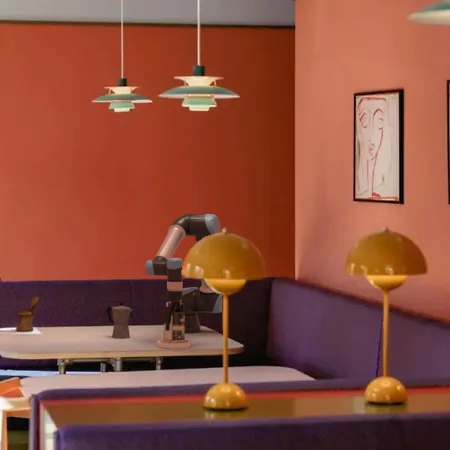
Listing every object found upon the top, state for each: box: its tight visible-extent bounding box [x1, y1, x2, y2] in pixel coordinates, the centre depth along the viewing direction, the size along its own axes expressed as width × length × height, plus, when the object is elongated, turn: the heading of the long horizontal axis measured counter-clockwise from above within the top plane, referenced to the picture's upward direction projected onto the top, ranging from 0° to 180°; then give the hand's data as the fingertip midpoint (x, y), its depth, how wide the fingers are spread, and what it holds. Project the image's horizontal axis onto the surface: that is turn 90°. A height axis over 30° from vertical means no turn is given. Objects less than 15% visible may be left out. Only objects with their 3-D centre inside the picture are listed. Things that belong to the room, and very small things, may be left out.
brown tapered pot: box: [15, 295, 40, 333], centre depth 634 cm, size 9×14×18 cm, turn 134°
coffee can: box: [163, 311, 186, 342], centre depth 581 cm, size 10×10×14 cm
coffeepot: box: [106, 301, 133, 340], centre depth 611 cm, size 15×9×18 cm, turn 61°
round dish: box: [157, 339, 192, 350], centre depth 581 cm, size 16×16×2 cm
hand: (174, 336), depth 581 cm, fingers closed on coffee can, 10 cm apart
